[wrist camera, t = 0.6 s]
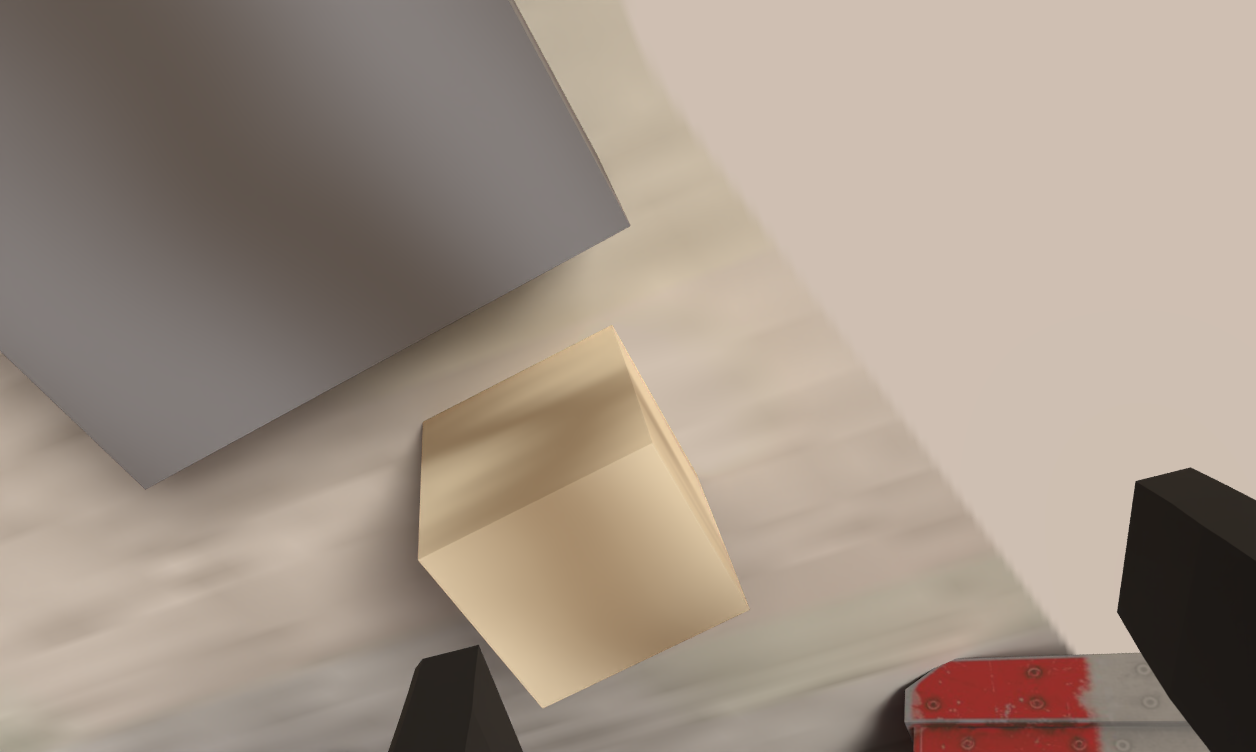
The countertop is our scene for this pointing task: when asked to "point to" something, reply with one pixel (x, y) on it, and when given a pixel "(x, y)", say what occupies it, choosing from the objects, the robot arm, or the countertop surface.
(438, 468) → the birch cube
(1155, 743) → the toy gun
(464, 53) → the charcoal slab
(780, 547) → the countertop surface
